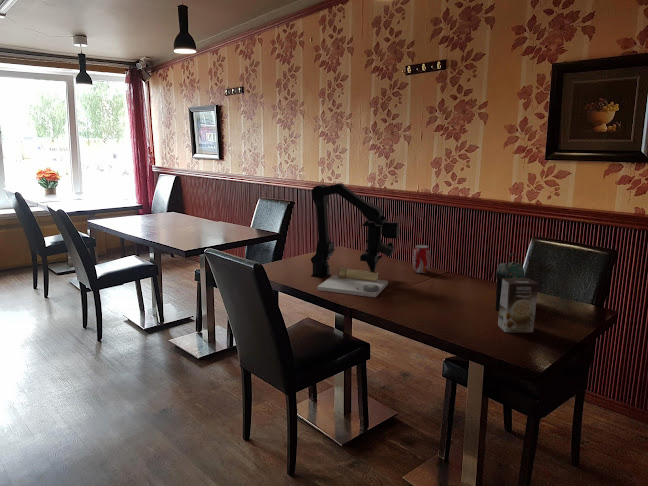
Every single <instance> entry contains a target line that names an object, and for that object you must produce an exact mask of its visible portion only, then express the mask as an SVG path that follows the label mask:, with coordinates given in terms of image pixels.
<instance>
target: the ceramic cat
mask: <svg viewBox="0 0 648 486" xmlns="http://www.w3.org/2000/svg"><path fill="white" fill-rule="evenodd" d="M511 256H513V257H515V253H514V252H510V254H509V256H508V261H507V262H505V263H504V262H501V263H499V264H498V266H497V269H496V273H495V278H496V288H495V294H496V295H495V296H496V297H495V310H496V311H498V312H499V308H500V298H501V288H502V278H526V277H525V268H524V266H523V264H522V260H521V259H519V258H517V259H515V260H514V261H512V262H510V258H511ZM518 262H519V263H518Z"/></svg>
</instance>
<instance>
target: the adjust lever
mask: <svg viewBox="0 0 648 486" xmlns="http://www.w3.org/2000/svg"><path fill="white" fill-rule="evenodd" d="M337 269H338V271H337V272H338V273H337V274H338V277H339V278H352V279H361V280H370V281H377V280H379V271H375V272H372V271H370V270H361V269H352V268H347V267H339V268H337Z"/></svg>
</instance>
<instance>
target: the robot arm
mask: <svg viewBox="0 0 648 486" xmlns="http://www.w3.org/2000/svg"><path fill="white" fill-rule="evenodd" d="M334 194H337V195H339V196H340V197H341V198H343V199H344V200H345V201H347V202H348V203H350V204H351V205H353V206H354V207H355V208H356V209H358V210H359V211H360V212H361V214H362V215H363V217H365V218H366V221H364V223H362V227H367V228H366V229H367V230H366V239H365V243H366V249H365V252H362V254H361V255H359V261H360V262H366V264H367V266H368V268H369V271H372V272H376V269H377V266H378V262H379V260H380V259H382V258H383V255H385V256H386V257H391V256H393V253H394V251H395V246H394V243H393V242H391V241H390V242H388V243H384V242H383V240H384V239H395V240H398V239H399V238H400V235H401V234H400V232H401V229H400V225H399V224H400V223H399V222H398V221H394V222H393V221H388V220H387V218H386V217H385V215H384V212H383V209H382V208H381V207H380V206H378V205H376V204H374V203H371V202H368V201H367V200H364V199H363V198H362V197H361V196H359V195H358V194H356V192H354V191H352V190H351V189H350V188H348V187H347V186H345V184H343V183H342V182H340V183H335V184H331V185H326V184H320V185H315V186H313V188H312V189H311V196H312V201H313V203H314V205H315V207H316V221H317V223H316V224H317V236H318V240H317V243H316V248H315V254H314V255H313V256H312V257H311V258H310V262H311V263H312V274H311V275H310V277H317V278H326V277H328V276H329V275H330V264H329V260H330V258H331V257H332V256H333V254H334V252H335V241H331V239H330V234H329V233H330V232H329V218H328V217H329V216H328V203H329V200H330V195H334ZM382 237H383V238H384V239H383V238H382ZM380 253H381V254H383V255H380Z"/></svg>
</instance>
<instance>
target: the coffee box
mask: <svg viewBox="0 0 648 486" xmlns="http://www.w3.org/2000/svg"><path fill="white" fill-rule="evenodd" d="M538 291H539V283H538V282H536V281H535V280H533V279H531V278H529V277H527V278H526V277H525V278H502V288H501V298H500V308H499V311H498V321H497V326H498V327H499V328H500V329H501V330H502V331H503V332H504V333H534V327H535V319H536V307H537V301H538Z"/></svg>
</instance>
